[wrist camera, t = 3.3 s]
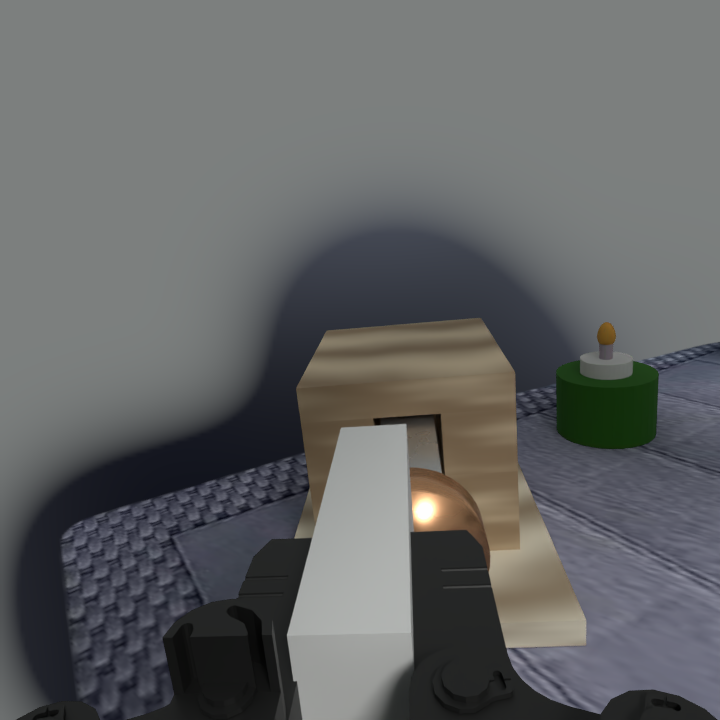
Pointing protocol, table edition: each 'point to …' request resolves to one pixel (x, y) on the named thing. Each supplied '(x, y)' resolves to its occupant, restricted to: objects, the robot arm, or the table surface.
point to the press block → (447, 451)
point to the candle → (607, 398)
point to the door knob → (437, 485)
